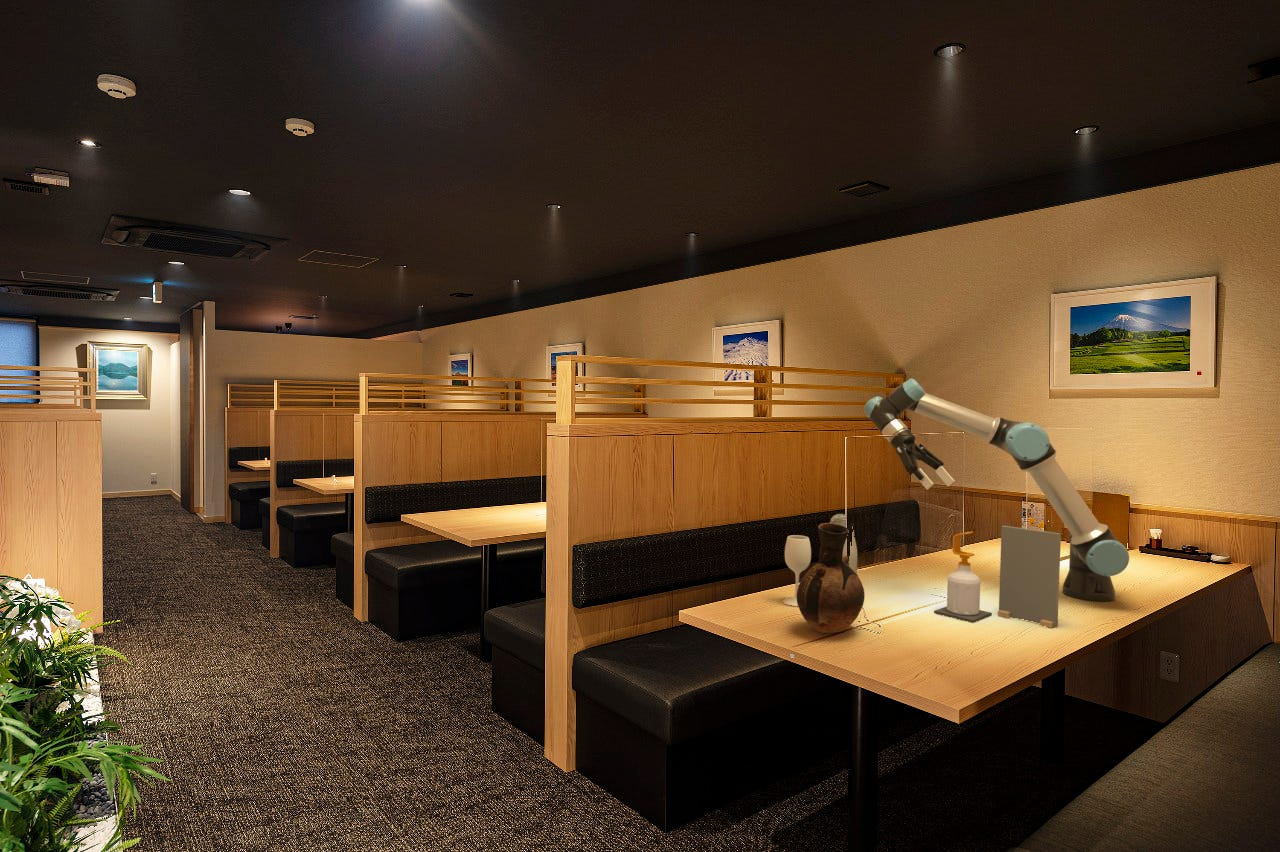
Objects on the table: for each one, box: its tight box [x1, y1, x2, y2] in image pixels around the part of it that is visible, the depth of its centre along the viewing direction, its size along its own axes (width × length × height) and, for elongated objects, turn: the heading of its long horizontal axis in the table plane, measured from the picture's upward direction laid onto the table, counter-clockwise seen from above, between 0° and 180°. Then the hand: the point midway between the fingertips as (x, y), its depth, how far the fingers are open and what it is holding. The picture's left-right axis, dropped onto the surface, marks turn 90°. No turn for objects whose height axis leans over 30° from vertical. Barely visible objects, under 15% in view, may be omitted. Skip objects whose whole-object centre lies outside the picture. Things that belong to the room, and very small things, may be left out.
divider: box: [997, 525, 1062, 629], centre depth 219 cm, size 5×16×27 cm, turn 40°
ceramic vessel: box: [797, 522, 865, 634], centre depth 207 cm, size 21×18×30 cm
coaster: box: [933, 605, 993, 624], centre depth 225 cm, size 12×12×1 cm
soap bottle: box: [946, 531, 981, 616], centre depth 225 cm, size 9×9×25 cm
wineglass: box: [782, 534, 812, 607], centre depth 235 cm, size 9×9×21 cm
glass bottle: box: [829, 513, 858, 575], centre depth 238 cm, size 10×10×28 cm
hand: (941, 485), depth 237 cm, fingers open, 13 cm apart
